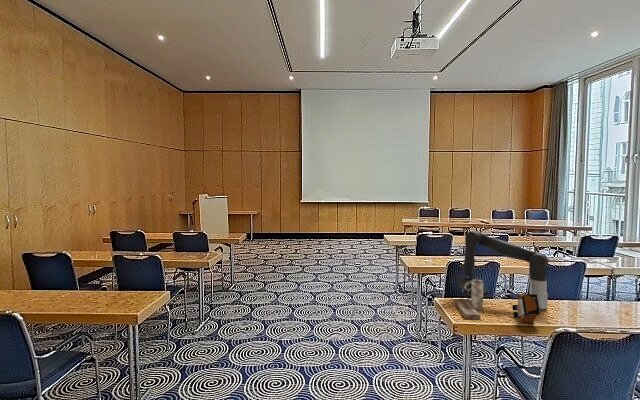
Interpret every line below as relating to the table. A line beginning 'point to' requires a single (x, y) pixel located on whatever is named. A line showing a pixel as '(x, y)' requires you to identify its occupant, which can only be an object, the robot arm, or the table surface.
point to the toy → (527, 308)
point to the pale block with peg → (477, 294)
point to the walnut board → (467, 310)
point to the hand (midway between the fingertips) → (477, 294)
